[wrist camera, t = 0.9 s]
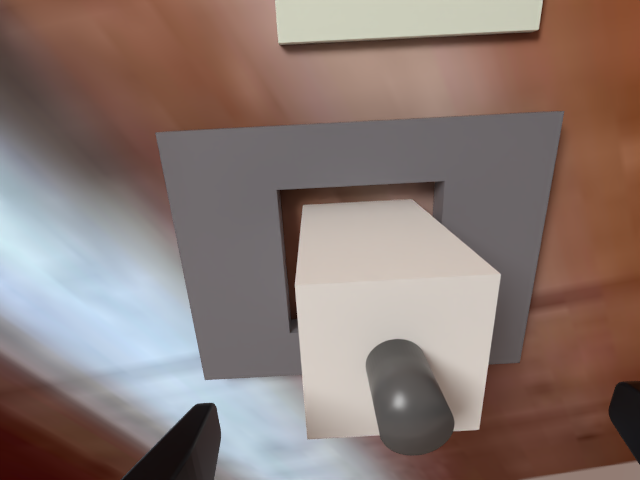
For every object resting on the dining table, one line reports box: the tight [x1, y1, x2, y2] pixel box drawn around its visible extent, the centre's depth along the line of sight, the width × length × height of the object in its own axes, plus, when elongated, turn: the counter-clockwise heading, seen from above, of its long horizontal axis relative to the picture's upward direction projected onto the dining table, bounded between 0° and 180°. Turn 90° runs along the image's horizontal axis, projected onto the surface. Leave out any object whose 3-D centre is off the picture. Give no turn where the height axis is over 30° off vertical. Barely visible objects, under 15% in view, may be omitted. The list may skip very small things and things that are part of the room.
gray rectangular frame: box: [156, 111, 564, 380], centre depth 16 cm, size 16×12×1 cm
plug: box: [295, 199, 501, 455], centre depth 12 cm, size 5×5×10 cm
